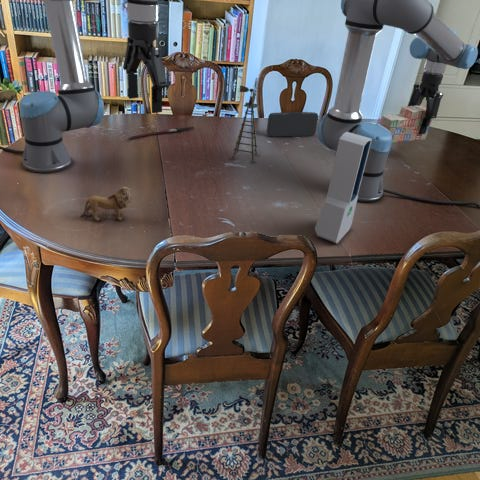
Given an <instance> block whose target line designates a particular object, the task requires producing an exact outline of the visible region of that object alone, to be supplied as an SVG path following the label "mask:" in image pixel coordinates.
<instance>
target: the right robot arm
mask: <svg viewBox="0 0 480 480" xmlns="http://www.w3.org/2000/svg"><path fill="white" fill-rule="evenodd" d="M340 9H341V13H342V15H344V17H345V21H344V26H345V27H346V29H347V31H348V33H347V38H346V41H345V42H346V43H345V48H344V53H343V58H342V63H341V67H340V72H339V78H338V83H337V88H336V93H335V99H334V102H333V103H334V104H333V106H332V107H330V108H329V109H328V111H327V113H326V114H324V115H322V117H321V119H320V121H319V122H318V126H317V137H318V140H319V142H320V143H321V145H323V146H325V147H326V148H328V149H329V150H331V151H334V152H337V148H338V143H339V139H340V137H341V136H342V135H343V134H344V133H345V132H350V133H353V134H357V135H360V136H364V137H368V138H371V139H372V141H371V145H370V149H369V153H368V157H367V161H366V165H365V169H364V172H363V176H362V180H361V184H360V188H359V192H358V199H357V202H360V203H377V202H378V201H380V200H381V199H382V198H383V195H384V193H385V194H390V195H394V196H398V197H401V198H405V199H410V200H414V201H418V202H424V203H432V204H440V205H441V204H442V205H460V206H468V205H469V206H471V205H472V206H476V207H477V208H478V209H480V204H479V202H475V201H457V200H456V201H455V200H451V201H450V200H436V199H429V198H423V197H418V196H413V195H408V194H404V193H401V192H397V191H393V190H389V189H385V188H384V182H383V180H384V179H383V174H384V171H385V167H386V164H387V160H388V157H389V154H390V151H391V149H392V143H393V142H392V134H391V132H390V131H389V130H388V129H387V128H385V127H383V126H381V125H379V124H377V123H374V122H371V121H363V122H362V118H363V114H362V113H361V111H360V107H361V103H362V100H363V95H364V90H365V86H366V82H367V77H368V72H369V69H370V64H371V59H372V55H373V52H374V51H373V50H374V46H375V43H376V38H377V35H378V34H379V33H380V32H382V31H383V30H384V26H388V27H391V28H395V29H399V30H402V31H404V32H405V33H406V34H408V35H409V34H410V35H414V36H416V37H414V38H413V40H412V41H411V42H410V45H409V54H410V56H411V57H412V58H413V59H416V60H423V59H425V60H426V61H425V64H424V67H423V70H424V71H423V72H422V75H421V78H420V83H414V84H413V89H412V93H411V95H410V99H409V102H408V104H407V106H421V105H422V103H423V101H424V100H425V101H426V105H425V106H426V117H424V118H423V122H422V125H421V128H420V131H419V134H425V133H426V130H427V127H428V126H429V124H430V121H431V119H432V120H434V119H437V115H438V112H439V109H440V106H441V102H442V99H443V97H444V92H440V91H439V87H440V85H441V84H442V81H443V79H444V74H445V71H446V70H447V69H446V68H447V65H448V66H451V67H454V68H457V69H462V70H469V69H470V68H472V66H473V65H474V64H475V62H476V61H477V58H478V55H479V50H478V47H476V46H475V45H472V44H468V43H465V42H463V41H462V39H461V38H459V36H458V35H457V31H456V30H455V29H451V28H450V27H449V26H448V25H447V24H446V23H445V22H444V21H443V20H442V19H441V18H440V17H439V16H438V15H437V14H436V13H435V10H434V6H433V5H432V3H431V2H430V0H340Z"/></svg>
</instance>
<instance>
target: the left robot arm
mask: <svg viewBox="0 0 480 480" xmlns="http://www.w3.org/2000/svg"><path fill="white" fill-rule="evenodd" d="M41 1H42V2H43V4H44V9H45V13H46V17H47V18H46V19H47V21H48V22H47V23H48V28H49V32H50V37H51V42H52V46H53V51H54V57H55V60H56V67H57V71H58V75H59V80H60V85H59V86H58V87H57V93H58V94H57V93H56V92H54V91H51V90H45V91H43V90H40V91H39V90H37V91H33V92H30V93H27V94H26V95H24V96H22V97H21V98H20V100H19V103H18V104H19V116H20V119H21V125H22V132H23V137H24V148H23V150H19V149H12V148H8V147H4V146H0V150H2V151H5V152H8V153H14V154H22V158H21V159H22V160H21V161H22V166H23V168H24V169H25V170H27V171H29V172H33V173H39V174H46V173H56V172H61V171H63V170H66V169H67V168H69V167H70V166H71V163H72V159H71V154H70V152H69V150H67V149H68V148H67V147H66V145H65V143H64V140H63V133H65V132H69V131H75V130H79V129H85V128H86V129H89V128H91V127H95V126H98V125H100V123H101V122H102V120H103V119H104V115H105V104H104V103H105V102H104V99H103V97H102V94H101V93H100V92H99V91H98V90H95V87H94V85H93V84H92V83H91V82H90V81H89V80H88V74H87V69H86V63H85V60H84V54H83V49H82V43H81V38H80V31H79V27H78V22H77V16H76V11H75V5H74V0H41ZM126 1H127V2H126V8H127V9H126V10H127V19H128V20H129V21H128V23H127V32H128V36H127V38H126V44H127V45H126V49H125V55H124V60H123V64H122V69H123V70H124V71H125V73H126V74H127V94H128V96H127V97H128V99H129V100H131V99H139V75H138V73H139V71H138V69H139V66H140V64H141V62H142V63H143V64H144V65H145V66H146V67H145V68H146V70H147V73H148V75H149V78H150V82H151V85H152V86H151V87H150V89H151V114H157V113H162V112H163V89H165V88H168V81H167V76H166V71H165V67H164V63H163V58H162V48H161V46H155V44H154V42H155V41H156V40H158V39H159V24H158V23H157V22H158V21H159V0H126Z"/></svg>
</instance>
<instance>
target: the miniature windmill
mask: <svg viewBox="0 0 480 480" xmlns="http://www.w3.org/2000/svg"><path fill="white" fill-rule="evenodd" d="M258 81H259V80H258V77H255V80H254V82H253V83H254V84H253V87H254V88H249V87H247V86H244V85H241V84H240V85H239V93H248V92H250V96H249V100H248V102H247V101H246V102H245V104H243V107H244V108H246V110H245V112H244V116H243V118H242V119H243V121H242V123H241V127H240V129H239V134H238V136H237V140H236V142H235V146H234V147H235V148H233V154H232V157H231V159H232V160H234V159H235V156H236V152H237V153H238V152H245V153H249V154H251V163H254V162H255V161H254V160H255V159H254V155H255V156H258V148H257V147H258V145H257V136H256V135H257V133H256V125H255V124H256V121H255V111H254V109H256V108H257V107H259V104H258V103H255V101H256V97H257V88H258V87H257V86H258ZM248 115H250V119H251V120H247V116H248ZM246 123H250V124H246ZM246 126H247V127H251V129H250V131H246V130H244V128H245V127H246ZM243 133H246V134H251V137H249V136H245V135H243ZM242 138H244V139H250V140H251V144H250V143H244V142H242V141H241V140H242ZM240 145H245V146H251V151H250V150H243V149H239V148H240Z"/></svg>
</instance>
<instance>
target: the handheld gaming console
mask: <svg viewBox="0 0 480 480" xmlns="http://www.w3.org/2000/svg"><path fill="white" fill-rule="evenodd" d="M318 120H319V114H318V113H317V112H315V111H313V112H312V111H309V112H308V111H284V112H283V111H282V112H271V113H269V115H268V117H267V126H266V134H267V136H268V137H303V136H304V137H307V136H310V137H311V136H314V135H316V134H317V133H316V132H317V127H318V126H317V125H318Z"/></svg>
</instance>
